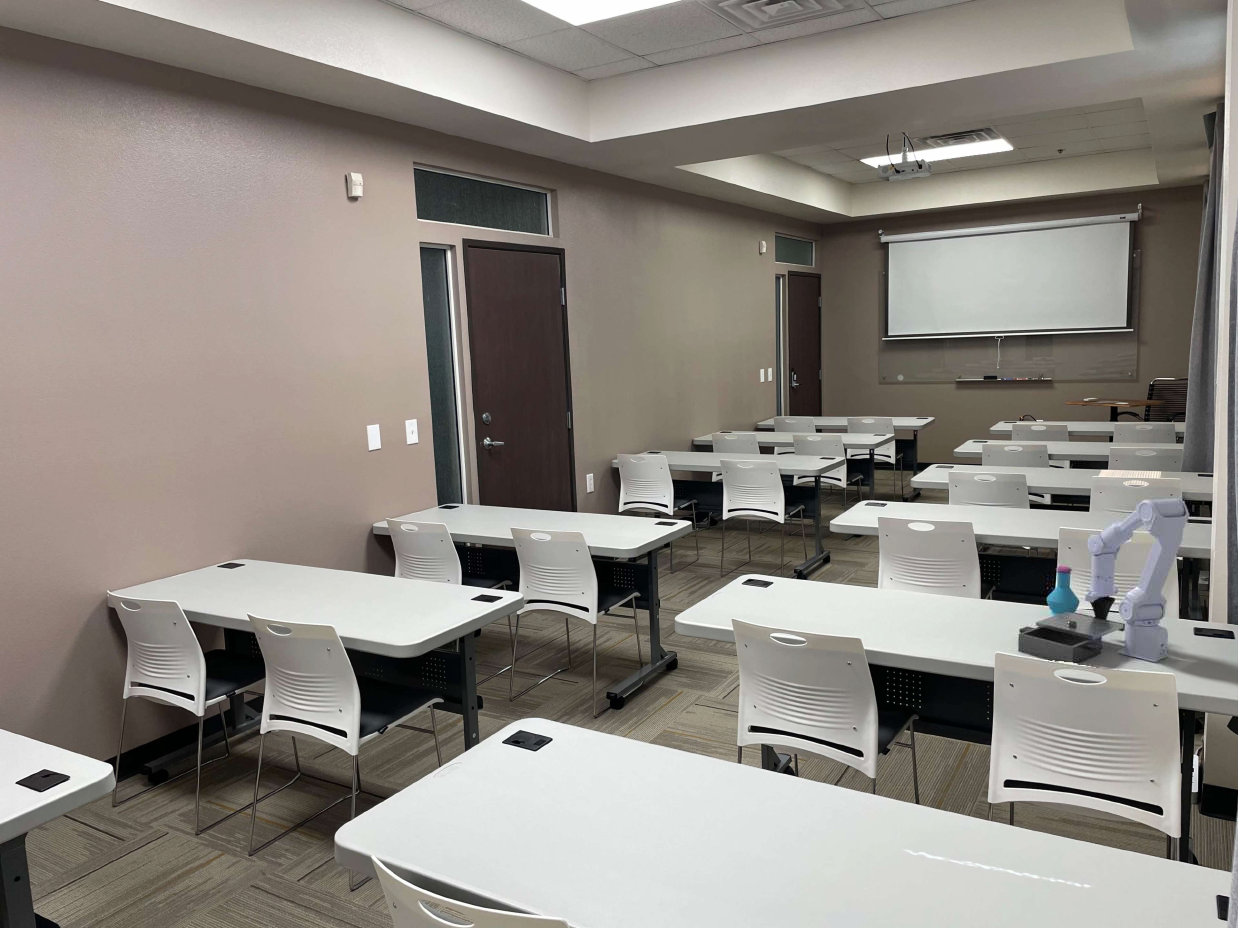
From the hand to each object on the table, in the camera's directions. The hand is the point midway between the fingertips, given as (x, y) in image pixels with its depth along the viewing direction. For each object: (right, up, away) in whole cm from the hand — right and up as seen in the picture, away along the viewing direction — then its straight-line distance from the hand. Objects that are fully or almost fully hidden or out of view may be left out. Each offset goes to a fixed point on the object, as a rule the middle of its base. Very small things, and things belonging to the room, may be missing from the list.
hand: (1100, 621), depth 248 cm
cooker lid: (-10, -1, -6) cm, 12 cm away
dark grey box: (-18, -6, -12) cm, 23 cm away
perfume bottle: (+1, -2, +23) cm, 23 cm away
